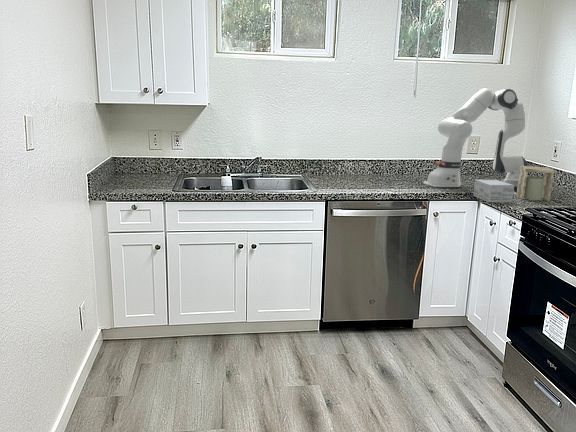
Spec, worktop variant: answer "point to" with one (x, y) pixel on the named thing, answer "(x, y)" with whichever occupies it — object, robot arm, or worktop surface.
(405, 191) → the worktop surface
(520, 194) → the tunnel
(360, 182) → the worktop surface
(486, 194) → the supplement box
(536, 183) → the can
